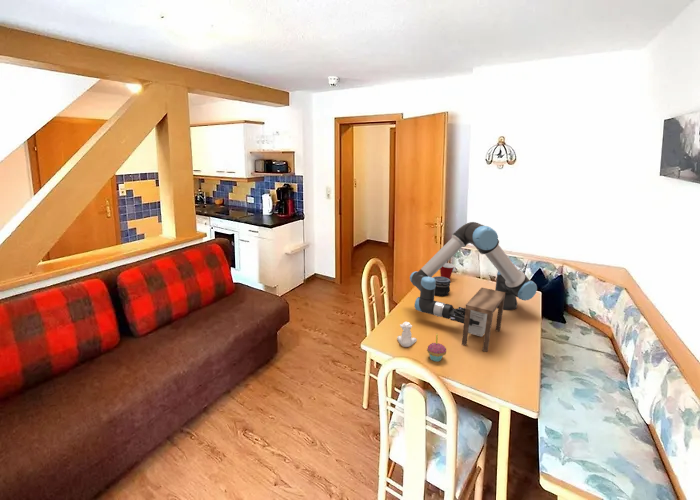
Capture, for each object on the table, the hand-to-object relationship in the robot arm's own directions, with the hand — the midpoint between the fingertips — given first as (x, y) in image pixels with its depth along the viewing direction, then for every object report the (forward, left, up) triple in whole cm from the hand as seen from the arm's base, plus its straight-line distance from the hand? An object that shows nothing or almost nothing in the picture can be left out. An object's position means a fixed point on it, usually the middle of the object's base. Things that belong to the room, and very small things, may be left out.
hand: (488, 321), depth 188 cm
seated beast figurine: (+42, +2, -9) cm, 43 cm away
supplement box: (+4, -3, -7) cm, 9 cm away
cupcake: (+32, +16, -9) cm, 37 cm away
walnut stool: (+2, -2, -9) cm, 10 cm away
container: (+3, -61, -9) cm, 62 cm away
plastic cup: (-10, -85, -9) cm, 86 cm away
